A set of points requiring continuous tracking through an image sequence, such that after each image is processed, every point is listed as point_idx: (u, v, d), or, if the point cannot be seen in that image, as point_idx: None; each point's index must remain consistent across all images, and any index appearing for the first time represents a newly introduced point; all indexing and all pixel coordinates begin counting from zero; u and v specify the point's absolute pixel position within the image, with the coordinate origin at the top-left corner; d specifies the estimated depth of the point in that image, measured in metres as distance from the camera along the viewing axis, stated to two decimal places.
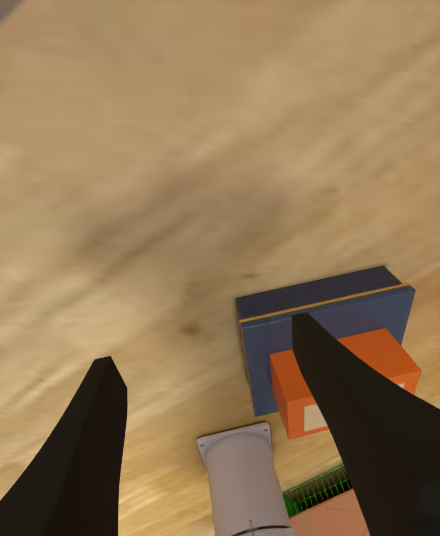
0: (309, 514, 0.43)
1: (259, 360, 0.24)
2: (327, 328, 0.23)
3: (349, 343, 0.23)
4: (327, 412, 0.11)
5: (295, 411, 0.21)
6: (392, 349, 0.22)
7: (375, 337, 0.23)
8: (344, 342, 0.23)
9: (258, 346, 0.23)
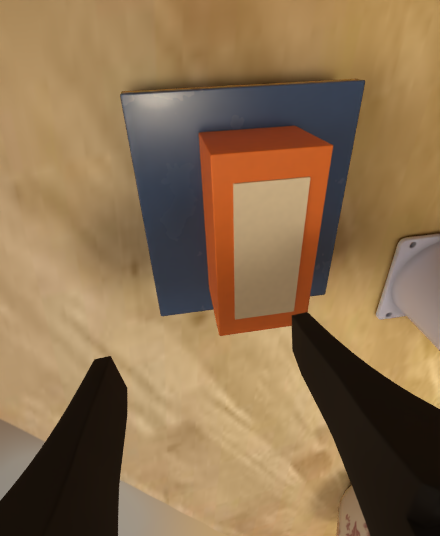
0: None
1: None
2: (180, 226, 0.17)
3: (204, 203, 0.16)
4: (327, 412, 0.11)
5: (243, 325, 0.16)
6: (204, 160, 0.13)
7: (201, 163, 0.15)
8: (204, 207, 0.16)
9: (192, 300, 0.20)
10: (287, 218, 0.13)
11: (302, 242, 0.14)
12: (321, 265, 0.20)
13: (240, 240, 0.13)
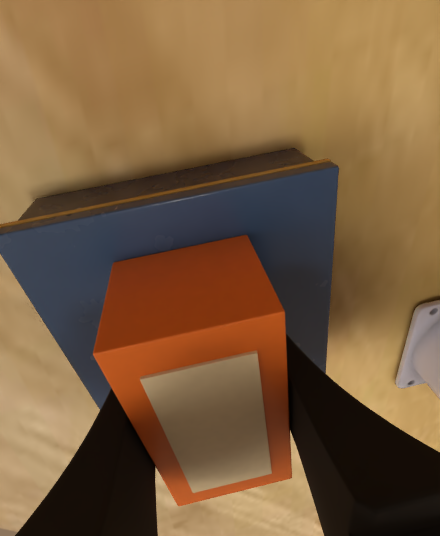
0: None
1: None
2: None
3: None
4: (290, 421, 0.11)
5: (206, 494, 0.12)
6: None
7: None
8: None
9: None
10: (236, 397, 0.09)
11: (265, 413, 0.10)
12: None
13: (172, 428, 0.09)
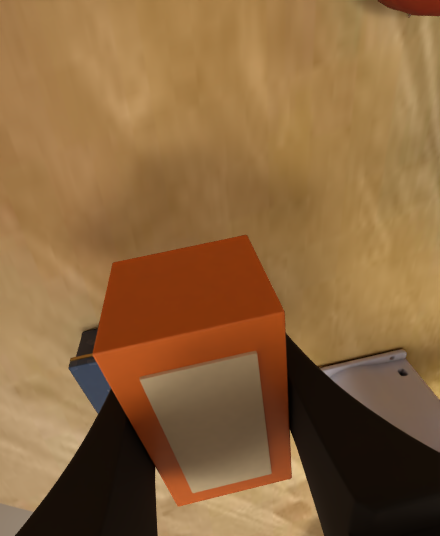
0: None
1: None
2: None
3: None
4: (290, 421, 0.11)
5: (206, 494, 0.12)
6: None
7: None
8: None
9: None
10: (235, 397, 0.09)
11: (265, 414, 0.10)
12: None
13: (171, 428, 0.09)
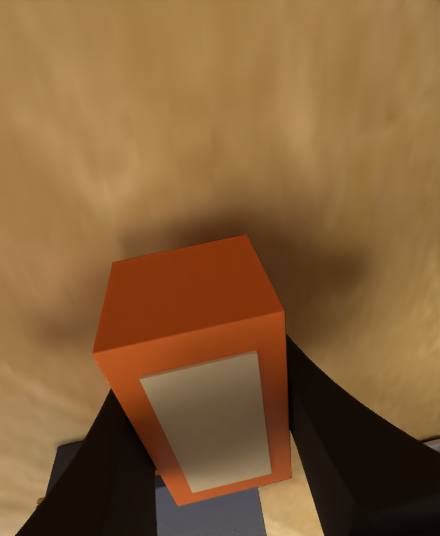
0: None
1: None
2: None
3: None
4: (290, 421, 0.11)
5: (206, 493, 0.12)
6: None
7: None
8: None
9: None
10: (235, 397, 0.09)
11: (265, 413, 0.10)
12: None
13: (171, 428, 0.09)
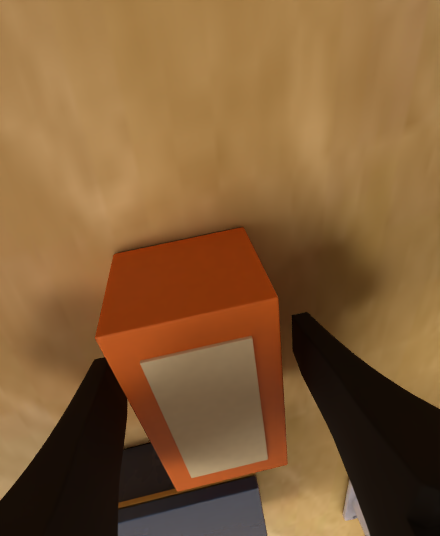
0: None
1: None
2: None
3: None
4: (327, 412, 0.11)
5: (204, 479, 0.13)
6: None
7: None
8: None
9: None
10: (232, 382, 0.09)
11: (260, 399, 0.10)
12: None
13: (170, 412, 0.10)
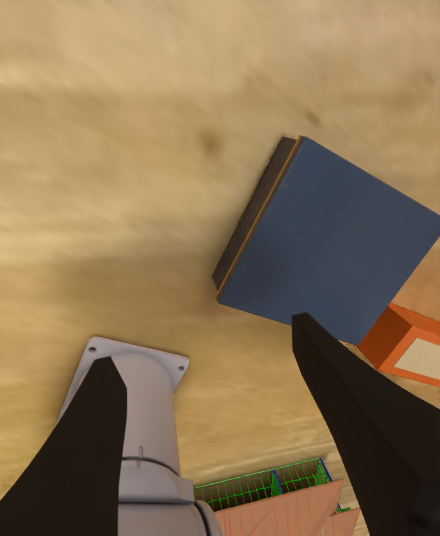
0: None
1: (286, 205, 0.18)
2: (368, 211, 0.20)
3: (428, 319, 0.29)
4: (327, 412, 0.11)
5: (407, 339, 0.25)
6: None
7: None
8: (424, 317, 0.30)
9: (300, 181, 0.18)
10: (439, 371, 0.28)
11: (424, 375, 0.27)
12: (254, 305, 0.21)
13: None
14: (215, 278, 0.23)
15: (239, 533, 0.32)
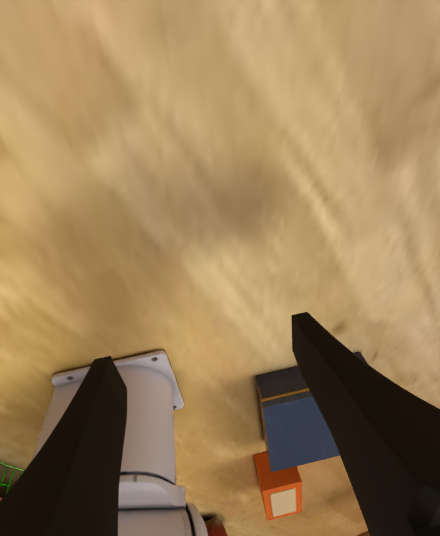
0: None
1: None
2: None
3: None
4: (327, 412, 0.11)
5: (291, 486, 0.36)
6: None
7: None
8: None
9: None
10: (278, 510, 0.39)
11: (271, 507, 0.39)
12: (271, 421, 0.29)
13: (294, 504, 0.39)
14: (260, 382, 0.30)
15: None
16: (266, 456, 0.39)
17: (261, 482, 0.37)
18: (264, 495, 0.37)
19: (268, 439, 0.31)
